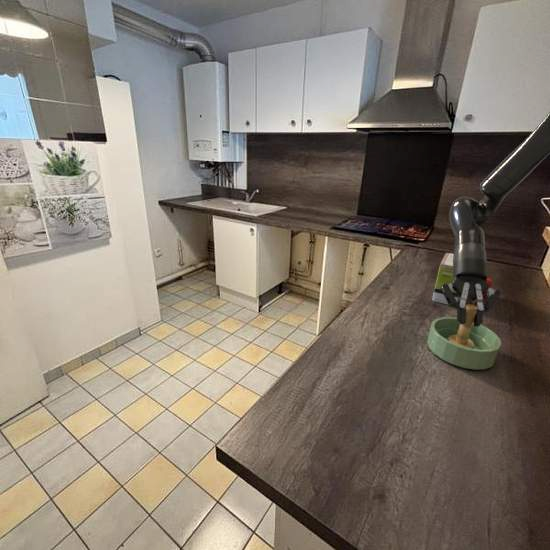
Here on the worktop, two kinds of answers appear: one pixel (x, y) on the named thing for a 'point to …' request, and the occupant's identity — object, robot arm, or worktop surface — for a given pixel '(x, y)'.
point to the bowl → (458, 355)
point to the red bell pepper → (488, 284)
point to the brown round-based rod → (465, 328)
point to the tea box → (444, 279)
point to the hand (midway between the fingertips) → (469, 324)
